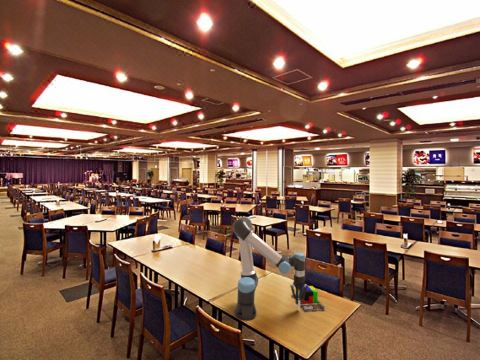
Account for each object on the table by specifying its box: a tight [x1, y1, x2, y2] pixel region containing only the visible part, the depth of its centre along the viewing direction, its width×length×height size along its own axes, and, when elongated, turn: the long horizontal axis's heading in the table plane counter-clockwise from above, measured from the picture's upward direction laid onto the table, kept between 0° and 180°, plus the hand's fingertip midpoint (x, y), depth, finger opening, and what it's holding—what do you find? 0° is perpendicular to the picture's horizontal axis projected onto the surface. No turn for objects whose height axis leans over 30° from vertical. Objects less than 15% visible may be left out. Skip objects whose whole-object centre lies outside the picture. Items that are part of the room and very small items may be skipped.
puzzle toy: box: [301, 285, 319, 304], centre depth 197 cm, size 10×10×10 cm
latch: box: [304, 305, 313, 310], centre depth 183 cm, size 6×2×3 cm, turn 100°
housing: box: [290, 293, 327, 313], centre depth 192 cm, size 17×24×4 cm
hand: (298, 308), depth 181 cm, fingers closed
